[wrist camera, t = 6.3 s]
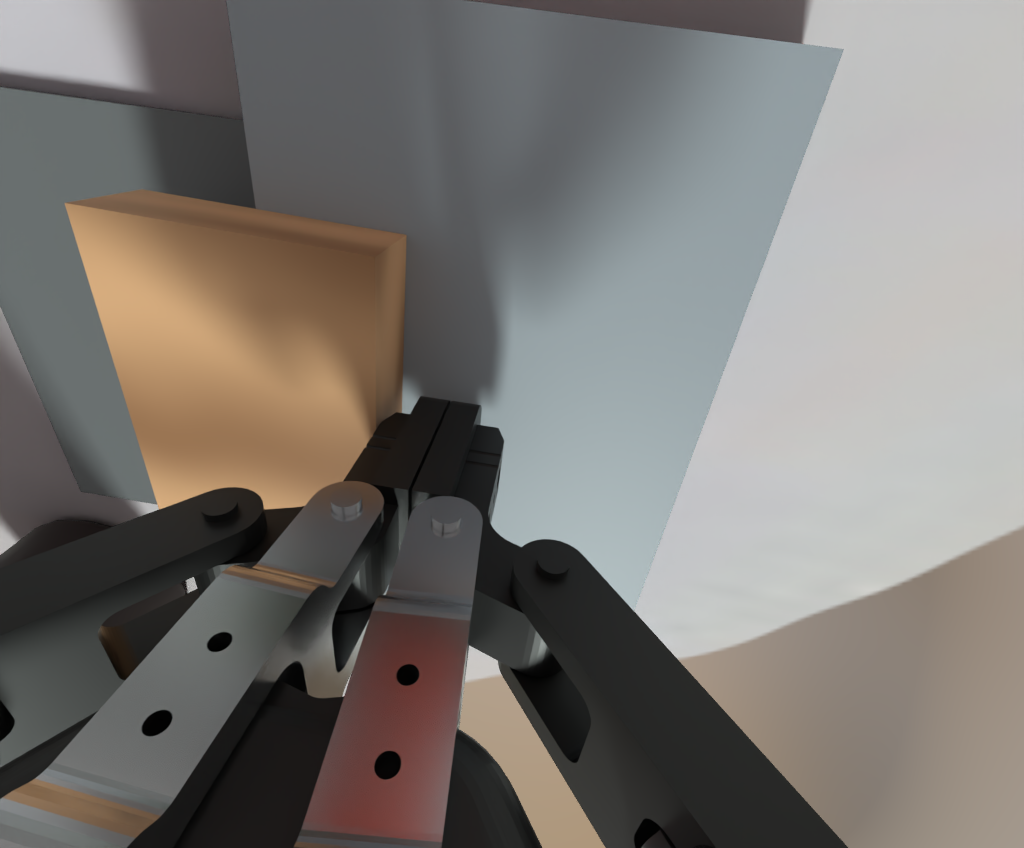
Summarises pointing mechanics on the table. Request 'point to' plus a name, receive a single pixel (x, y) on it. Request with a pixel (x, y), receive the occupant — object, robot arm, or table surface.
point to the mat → (57, 261)
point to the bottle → (72, 531)
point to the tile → (245, 339)
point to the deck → (544, 223)
